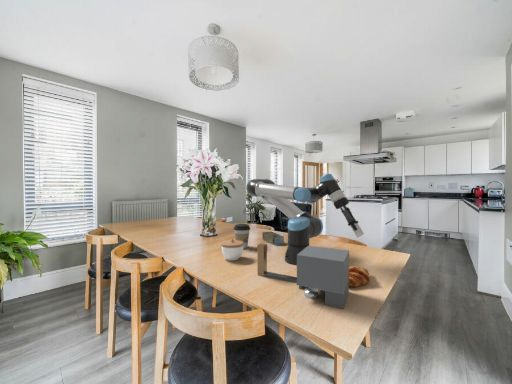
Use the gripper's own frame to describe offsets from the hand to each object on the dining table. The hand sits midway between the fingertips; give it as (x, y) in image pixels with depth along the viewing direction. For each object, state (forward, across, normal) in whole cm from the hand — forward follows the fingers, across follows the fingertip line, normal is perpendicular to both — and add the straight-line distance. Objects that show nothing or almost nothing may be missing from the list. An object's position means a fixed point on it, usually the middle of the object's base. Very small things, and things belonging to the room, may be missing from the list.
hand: (360, 235), depth 119 cm
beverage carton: (-21, +28, +58) cm, 67 cm away
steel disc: (+11, -41, +23) cm, 49 cm away
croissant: (+16, -20, +10) cm, 27 cm away
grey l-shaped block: (+13, -39, +20) cm, 45 cm away
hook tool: (+2, -34, +36) cm, 49 cm away
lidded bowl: (-18, -18, +65) cm, 70 cm away
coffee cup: (-25, +5, +70) cm, 74 cm away
